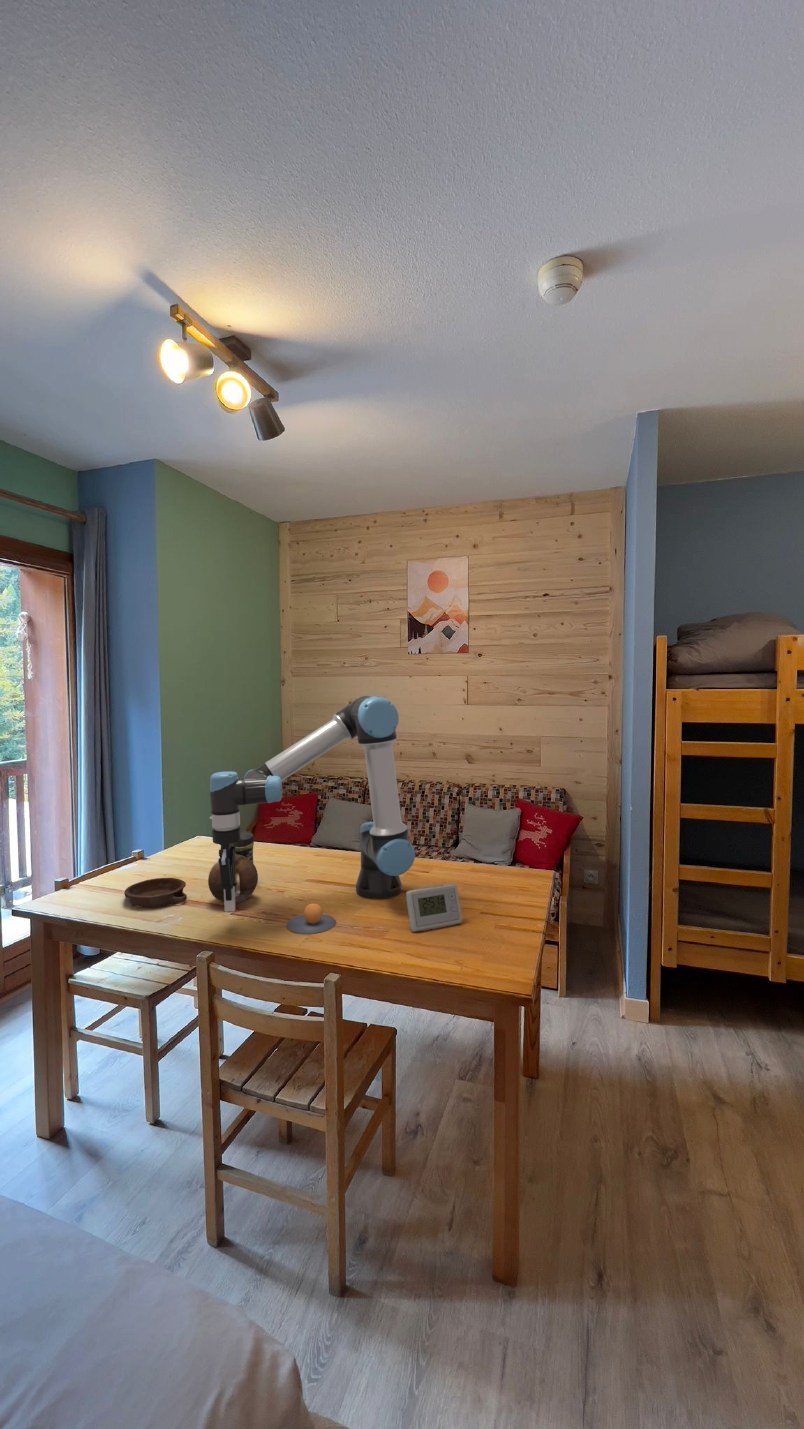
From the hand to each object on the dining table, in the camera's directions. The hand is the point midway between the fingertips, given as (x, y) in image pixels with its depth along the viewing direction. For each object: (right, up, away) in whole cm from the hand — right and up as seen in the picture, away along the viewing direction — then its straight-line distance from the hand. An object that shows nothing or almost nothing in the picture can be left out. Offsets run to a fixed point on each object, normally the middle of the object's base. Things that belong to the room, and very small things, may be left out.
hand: (230, 910), depth 167 cm
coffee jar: (-6, -4, +34) cm, 34 cm away
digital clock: (+58, -5, +1) cm, 58 cm away
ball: (+23, -2, +3) cm, 23 cm away
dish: (-30, -5, +22) cm, 38 cm away
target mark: (+22, -5, +3) cm, 23 cm away
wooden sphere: (-5, -4, +20) cm, 21 cm away
